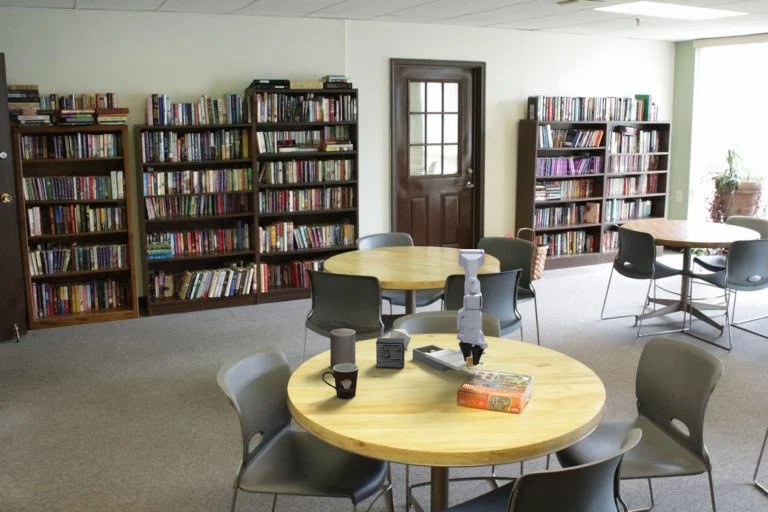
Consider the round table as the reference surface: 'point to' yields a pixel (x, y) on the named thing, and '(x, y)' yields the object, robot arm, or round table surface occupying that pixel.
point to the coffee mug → (344, 380)
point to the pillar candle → (342, 347)
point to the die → (401, 336)
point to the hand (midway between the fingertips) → (471, 362)
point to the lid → (452, 359)
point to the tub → (420, 356)
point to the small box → (390, 353)
